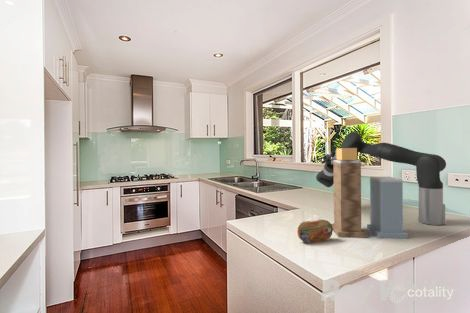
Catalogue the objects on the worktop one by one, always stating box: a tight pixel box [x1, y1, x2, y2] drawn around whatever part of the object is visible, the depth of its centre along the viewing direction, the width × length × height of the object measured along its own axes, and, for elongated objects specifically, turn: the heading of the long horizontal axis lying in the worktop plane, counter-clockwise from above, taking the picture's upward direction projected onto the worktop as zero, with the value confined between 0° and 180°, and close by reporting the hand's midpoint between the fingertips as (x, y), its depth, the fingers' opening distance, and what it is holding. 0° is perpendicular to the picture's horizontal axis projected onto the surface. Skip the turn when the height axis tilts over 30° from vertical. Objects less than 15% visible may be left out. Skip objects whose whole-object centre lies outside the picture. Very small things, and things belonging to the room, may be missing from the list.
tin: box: [297, 219, 334, 244], centre depth 97 cm, size 15×3×8 cm, turn 105°
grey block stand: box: [366, 176, 409, 240], centre depth 103 cm, size 11×12×24 cm
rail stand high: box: [330, 159, 367, 239], centre depth 105 cm, size 11×12×32 cm
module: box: [333, 147, 358, 160], centre depth 110 cm, size 6×18×5 cm, turn 173°
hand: (339, 151), depth 115 cm, fingers closed on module, 4 cm apart
